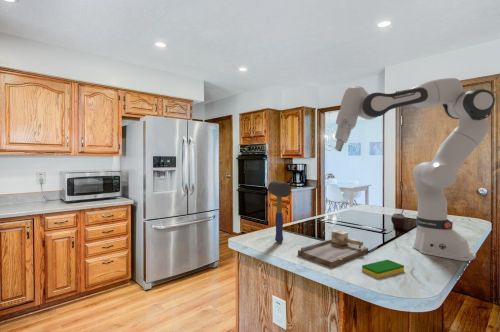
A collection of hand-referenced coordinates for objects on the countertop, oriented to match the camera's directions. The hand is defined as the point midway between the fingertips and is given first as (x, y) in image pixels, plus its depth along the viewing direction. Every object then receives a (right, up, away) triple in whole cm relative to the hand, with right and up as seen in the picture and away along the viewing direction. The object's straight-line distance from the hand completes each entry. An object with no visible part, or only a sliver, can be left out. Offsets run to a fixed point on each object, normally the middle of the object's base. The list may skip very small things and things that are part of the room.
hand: (338, 150), depth 130 cm
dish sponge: (+8, -46, -28) cm, 55 cm away
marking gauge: (+2, -42, -6) cm, 43 cm away
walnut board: (-5, -45, -10) cm, 46 cm away
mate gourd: (+46, -44, +32) cm, 71 cm away
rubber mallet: (-27, -45, +6) cm, 52 cm away
